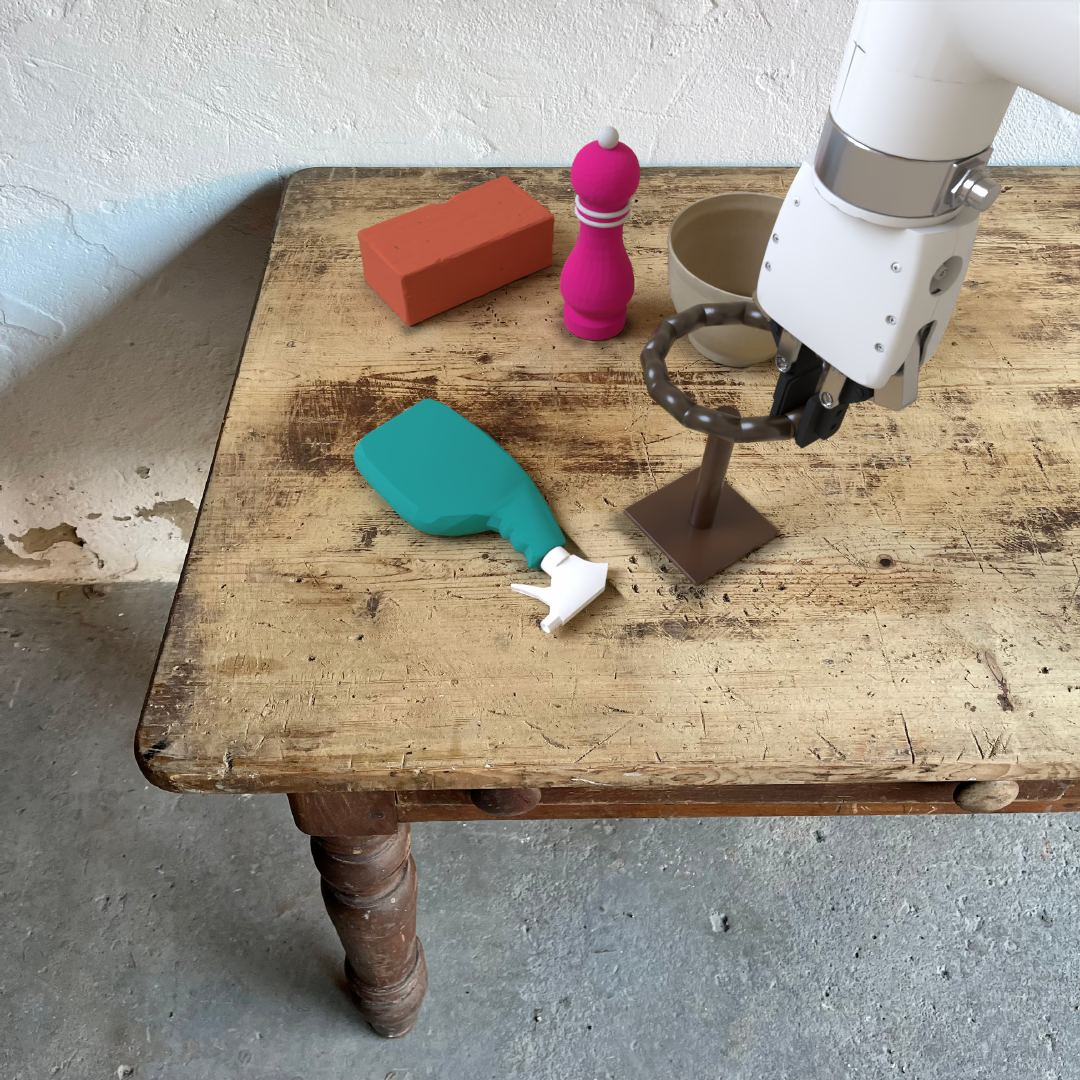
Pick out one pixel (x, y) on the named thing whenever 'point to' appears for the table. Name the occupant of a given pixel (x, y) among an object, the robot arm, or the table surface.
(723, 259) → the planter bowl
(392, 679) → the table surface
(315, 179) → the table surface
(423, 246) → the brick
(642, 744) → the table surface
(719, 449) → the stand
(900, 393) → the robot arm
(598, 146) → the pepper mill
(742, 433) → the ring
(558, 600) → the spray bottle
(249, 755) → the table surface
